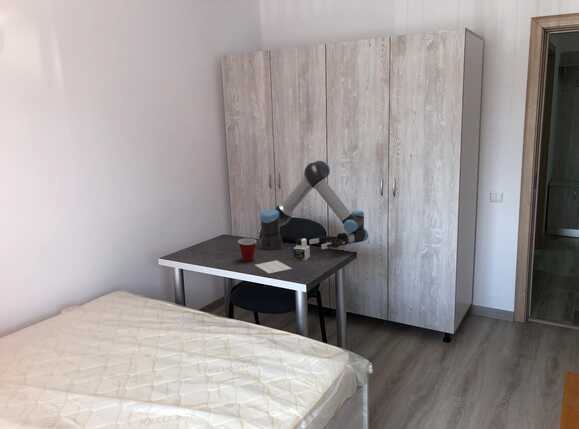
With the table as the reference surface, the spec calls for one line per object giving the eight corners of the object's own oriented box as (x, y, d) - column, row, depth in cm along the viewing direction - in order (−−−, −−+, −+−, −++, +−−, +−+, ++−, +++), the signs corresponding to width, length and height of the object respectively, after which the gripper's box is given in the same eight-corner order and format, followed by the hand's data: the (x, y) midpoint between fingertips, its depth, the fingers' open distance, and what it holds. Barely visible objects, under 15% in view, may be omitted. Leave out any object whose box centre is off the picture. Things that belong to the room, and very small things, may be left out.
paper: (254, 265, 268) (254, 264, 268) (276, 260, 275) (276, 260, 275) (268, 273, 253) (268, 273, 253) (291, 268, 259) (291, 268, 259)
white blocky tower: (293, 259, 275) (292, 239, 273) (299, 256, 281) (298, 236, 279) (304, 260, 272) (304, 240, 270) (310, 257, 278) (309, 237, 276)
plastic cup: (248, 264, 271) (247, 244, 268) (235, 261, 278) (234, 241, 275) (261, 259, 279) (260, 239, 276) (248, 256, 286) (247, 237, 283)
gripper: (357, 248, 279) (327, 255, 270) (333, 240, 301) (305, 246, 291) (357, 236, 278) (327, 242, 268) (333, 228, 299) (304, 234, 290)
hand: (315, 244), depth 280 cm, fingers open, 13 cm apart
